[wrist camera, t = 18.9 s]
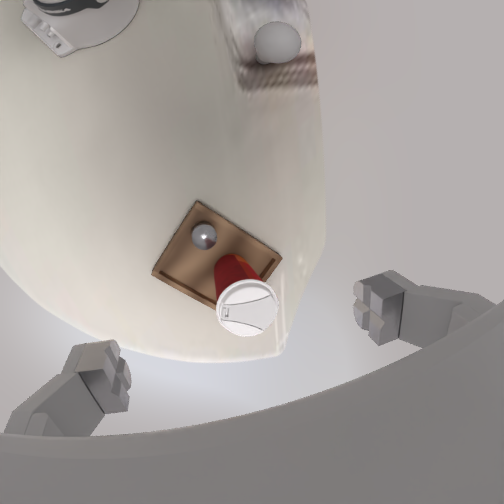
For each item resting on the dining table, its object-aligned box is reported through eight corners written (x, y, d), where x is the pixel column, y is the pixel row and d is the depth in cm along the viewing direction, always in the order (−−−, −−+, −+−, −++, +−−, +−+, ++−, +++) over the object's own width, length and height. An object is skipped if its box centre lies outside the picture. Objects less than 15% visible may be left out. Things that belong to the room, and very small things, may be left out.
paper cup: (205, 290, 48) (214, 339, 35) (209, 245, 46) (220, 282, 33) (251, 292, 50) (275, 339, 37) (258, 248, 48) (287, 285, 35)
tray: (152, 269, 46) (151, 274, 44) (196, 200, 44) (197, 202, 42) (234, 314, 52) (236, 320, 50) (278, 254, 50) (282, 258, 48)
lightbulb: (267, 36, 38) (291, 9, 28) (288, 66, 40) (317, 45, 30) (235, 51, 38) (250, 24, 28) (256, 82, 40) (278, 63, 30)
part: (186, 236, 45) (187, 241, 42) (199, 216, 45) (201, 220, 42) (206, 248, 46) (208, 254, 43) (219, 229, 46) (222, 234, 43)
